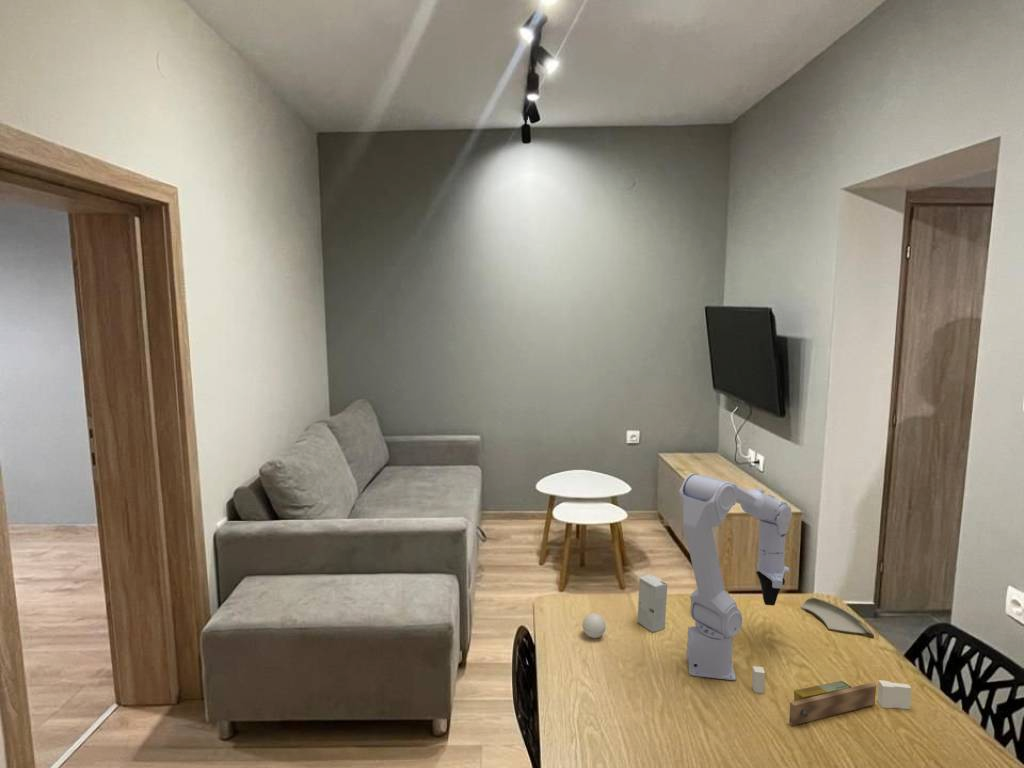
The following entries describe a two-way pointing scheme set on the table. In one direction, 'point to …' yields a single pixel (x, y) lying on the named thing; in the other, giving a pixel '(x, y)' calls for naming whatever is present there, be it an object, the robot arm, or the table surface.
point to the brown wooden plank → (832, 703)
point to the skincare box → (652, 602)
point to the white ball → (594, 625)
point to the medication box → (819, 690)
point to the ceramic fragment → (836, 617)
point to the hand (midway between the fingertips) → (769, 603)
